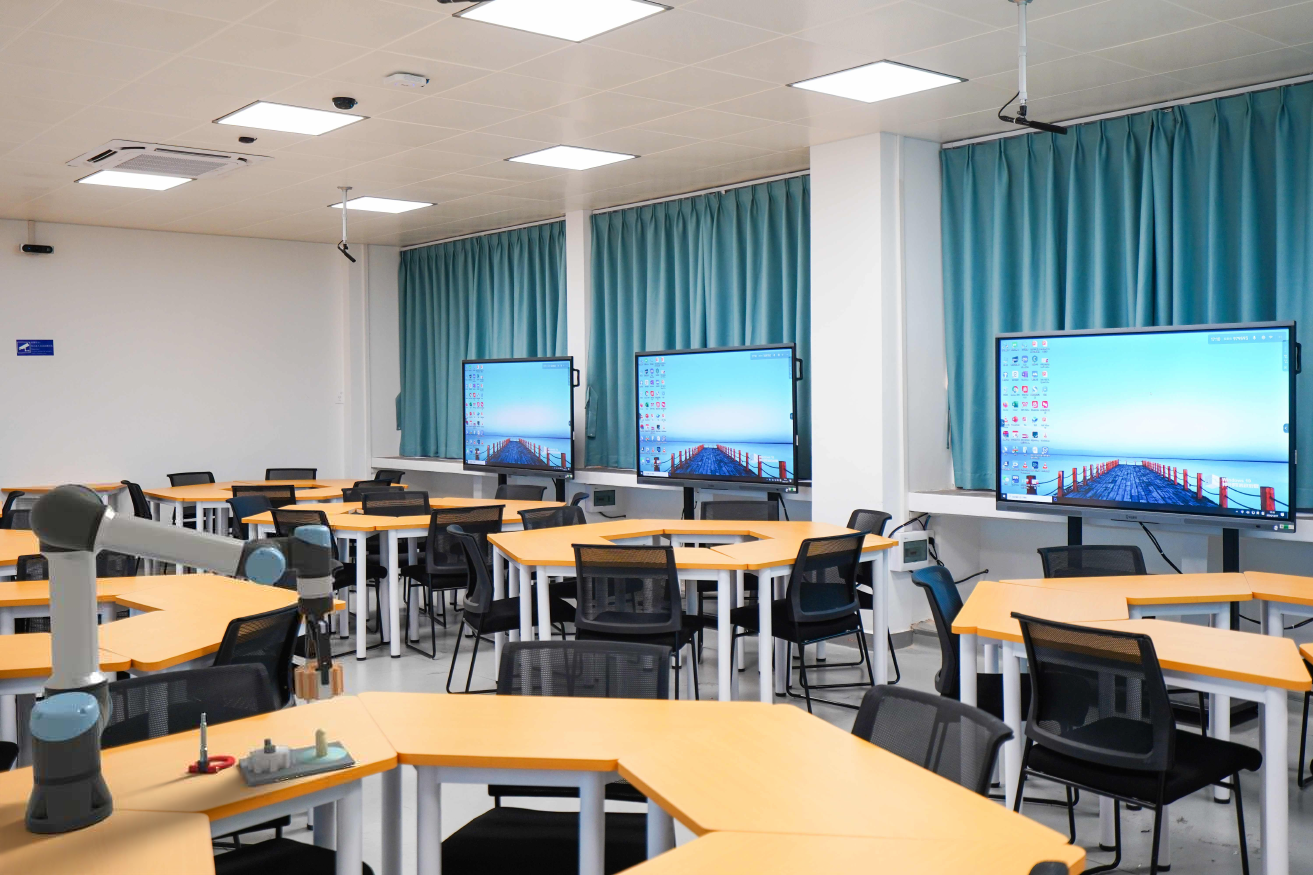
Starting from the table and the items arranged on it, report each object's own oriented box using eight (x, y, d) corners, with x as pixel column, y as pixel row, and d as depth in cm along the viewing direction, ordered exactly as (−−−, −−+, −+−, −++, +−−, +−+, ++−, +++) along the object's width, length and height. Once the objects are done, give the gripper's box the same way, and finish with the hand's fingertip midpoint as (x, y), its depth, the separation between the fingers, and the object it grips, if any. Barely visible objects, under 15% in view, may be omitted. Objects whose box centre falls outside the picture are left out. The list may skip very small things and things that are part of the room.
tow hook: (208, 759, 238) (184, 772, 229) (207, 703, 238) (183, 713, 229) (242, 761, 237) (219, 774, 228) (242, 704, 237) (218, 714, 228)
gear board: (249, 786, 220) (247, 752, 219) (238, 763, 234) (237, 731, 233) (355, 765, 230) (353, 733, 230) (339, 745, 244) (337, 714, 244)
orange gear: (348, 695, 232) (347, 668, 232) (300, 702, 227) (299, 675, 227) (338, 684, 241) (337, 658, 241) (292, 691, 236) (290, 665, 236)
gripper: (344, 600, 225) (348, 702, 226) (322, 585, 245) (326, 678, 246) (308, 605, 221) (312, 708, 222) (288, 588, 241) (293, 683, 242)
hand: (319, 692), depth 234 cm, fingers closed on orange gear, 10 cm apart
